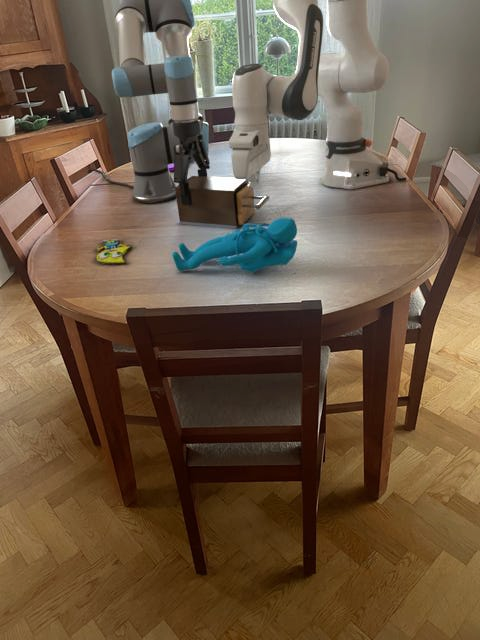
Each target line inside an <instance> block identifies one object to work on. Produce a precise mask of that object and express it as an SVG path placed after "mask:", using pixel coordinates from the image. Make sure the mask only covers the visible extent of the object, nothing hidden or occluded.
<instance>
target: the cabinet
mask: <svg viewBox="0 0 480 640" xmlns="http://www.w3.org/2000/svg"><path fill="white" fill-rule="evenodd" d="M187 182H189V190H190V197H191V205H182V201H181V194H180V187H179V184H178V185H176V187H175V193H176V196H175V199H176V206H177V210H178V211H177V212H178V219H179V224H180V225H190V226H201V227H213V228H225V229H237V228H238V227H239V226H240V224H239V221H238V219H237V214H236V202H235V193H236V192H237V191H238V190H239V189H240V188H241V187H242V186H243V188H244V187H245V186H246V185H247V184H248V183H249V180H248V179H236V178H235V177H232V176H231V177H228V176H227V177H226V176H208V175H207V176H198V175H191V176H190V177H189V178H188V177H187Z"/></svg>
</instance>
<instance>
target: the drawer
mask: <svg viewBox="0 0 480 640" xmlns="http://www.w3.org/2000/svg"><path fill="white" fill-rule="evenodd" d="M254 192H255V191H254V188H251V187H250V184H249V182H248V184H247V185H246V186H245V187H244V188H243V186H242V187H241V188H240V189H239V190H238V191H237V192H236V193H235V202H236V214H237V219H238V221H239V224H240V225H241V226H243V225H244V224H246V222H247V221H248V220H249V219H250V218H251V216H253V214H255V212H256V210H260V209H261V208H262V207H263V206H264V205H266V203H267V202H268V201H269V200H270V196H269V195H264V196H257V195H256V196H255V193H254ZM255 200H260V201H259V202H258V203H257V204H255ZM240 225H239V226H240Z"/></svg>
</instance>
